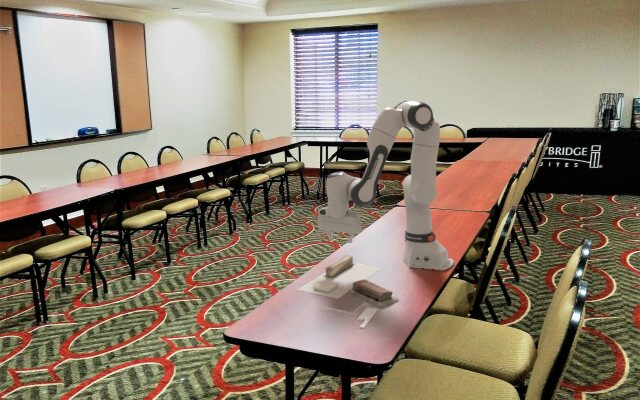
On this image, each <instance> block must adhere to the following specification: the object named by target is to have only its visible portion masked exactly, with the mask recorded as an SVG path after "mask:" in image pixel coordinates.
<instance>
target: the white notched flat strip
mask: <svg viewBox="0 0 640 400" xmlns="http://www.w3.org/2000/svg"><path fill="white" fill-rule="evenodd" d="M377 312H378V309H377V308H373V307H372V308H370V307H367V308H364V310H363V311H362V312H361V313H360V315H359V316H358V317H357V319H356V321H361V322H362V321H363V320H364V321H363V322H362V324H361V325H360V326H359V329H362V330H363V329H364V330H365V328H366V327H367V325H368V324H369V323H370V321H371V320H372V318H373V317H374V315H375V314H376V313H377Z"/></svg>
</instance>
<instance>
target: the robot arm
mask: <svg viewBox="0 0 640 400" xmlns="http://www.w3.org/2000/svg"><path fill="white" fill-rule="evenodd" d="M404 127H407V128H412V129H413V133H414V134H413V135H414V137H413V141H412V148H411V154H410V174H409V175H407V176H405V177H404V179H403V181H402V188H403V189H402V190H403V200H404V207H405V215H406V216H405V218H406V219H405V222H406V223H405V227H406V229H405V233H404V240H405V248H404V254H403V257H402V262H403V263H404V264H406V265H407V267H409V268H415V269H422V268H424V270H432V269H434V270H435V271H444V270H445V271H446V270H448V269H450V268H451V267H452V266H454V260H453V259H452V258H449V252H448V249H447V248H446V247H444V245H442V244H441V243H440V242H439V241H438V240H436V237H437V232H435V233H434V231H432V211H431V207H430V204H431V203H433V202H435V200H436V198H437V194H438V192H437V191H438V190H437V160H438V155H439V146H440V141H441V139H440V138H441V127H440V123H439V122H438V121H437V120H435V118H434V114H433V109H432V108H431V106H430V105H429V104H427V103H425V102H423V101H418V100H404V101H401V102H399V103H398V104H397V105H396V106H394V107H385V108H384V109H382V110H381V112H380V113H379V114H378V116H377V118H376V119H375V121H374V123H373V125H372V126H371V128H370V131H369V134H368V136H367V139H366V145H367V149H368V151H369V160H368V162H367V163H368V164H367V165H366V168H365V171H364V173H363V176H362V178H361V177H356V176H352V175H349V174H347V173H345V172H344V171H337V172H333V173H330V174H329V175H328V176H327V177H326V196H327V205H326V206H324V207H321V208H320V209H318V210H317V214H318V216H317V228H318V230H319V231H325V234H326V236H327V237H328V241H329V242H330V241H331V242H332V241H334V235H332V233H331V232H335V233H346V234H348V236H349V237H348V238H347V239H346V240H347V243H348V244H352V243H353V238H354V236H355V234H356V235H359V234H360V233H361V232H362V230H363V226H362V221H361V219H362V218H361V214H360V213H358V212H357V211H350V209H349V208H350V207H349V201H352V202H353V203H354V204H355V205H356V206H358V207H362V208H364V207H368V206H370V205H372V204H373V202H374V201H375V200H376V197H377V186H378V183H379V180H380V177H381V175H382V172H383V169H384V168H385V164H386V162H387V159H388V156H389V154H390V152H391V149H392V147H393V145H394V143H395V141H396V139H397V137H398V135H399V132H400V131H401V130H402V129H403V128H404ZM434 270H433V271H434Z"/></svg>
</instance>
